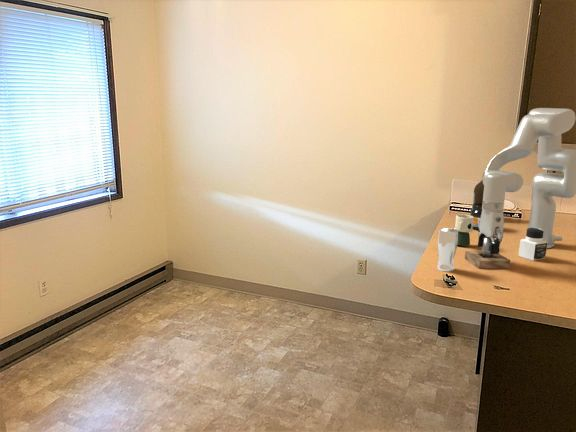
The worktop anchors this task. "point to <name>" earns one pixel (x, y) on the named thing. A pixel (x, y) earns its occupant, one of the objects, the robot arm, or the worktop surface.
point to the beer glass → (447, 248)
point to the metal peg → (487, 248)
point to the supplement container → (476, 214)
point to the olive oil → (478, 192)
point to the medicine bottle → (533, 245)
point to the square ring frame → (487, 260)
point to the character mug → (464, 228)
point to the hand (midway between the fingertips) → (487, 249)
